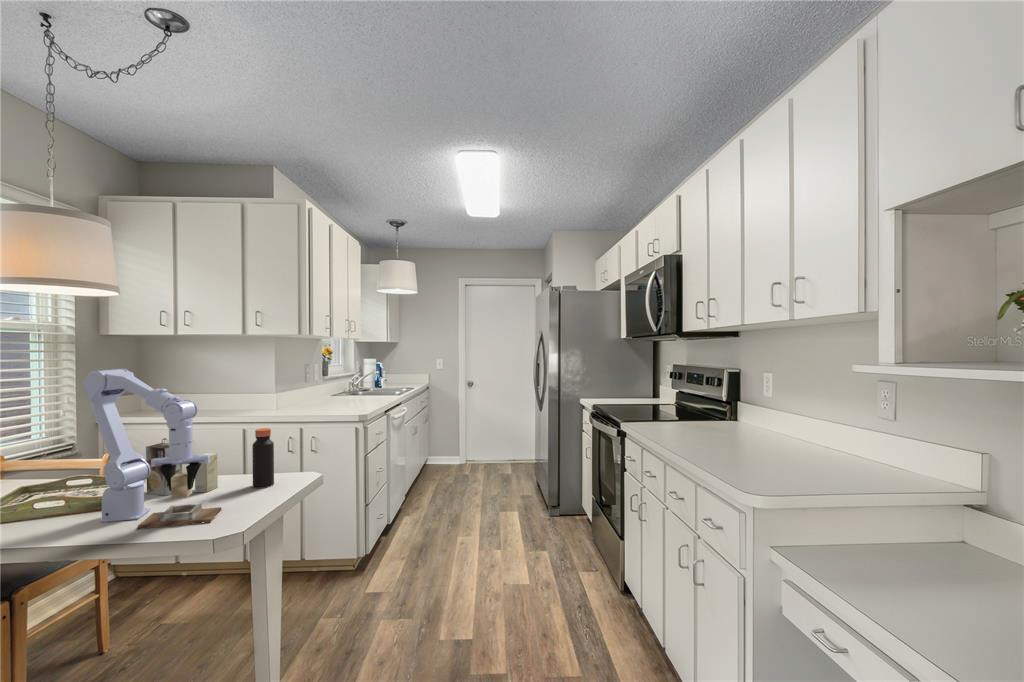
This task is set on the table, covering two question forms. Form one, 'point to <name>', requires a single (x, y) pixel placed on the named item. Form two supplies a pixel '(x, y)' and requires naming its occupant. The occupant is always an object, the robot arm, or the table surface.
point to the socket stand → (180, 516)
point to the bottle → (263, 458)
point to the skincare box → (207, 475)
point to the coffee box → (158, 470)
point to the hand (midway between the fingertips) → (181, 489)
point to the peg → (180, 486)
